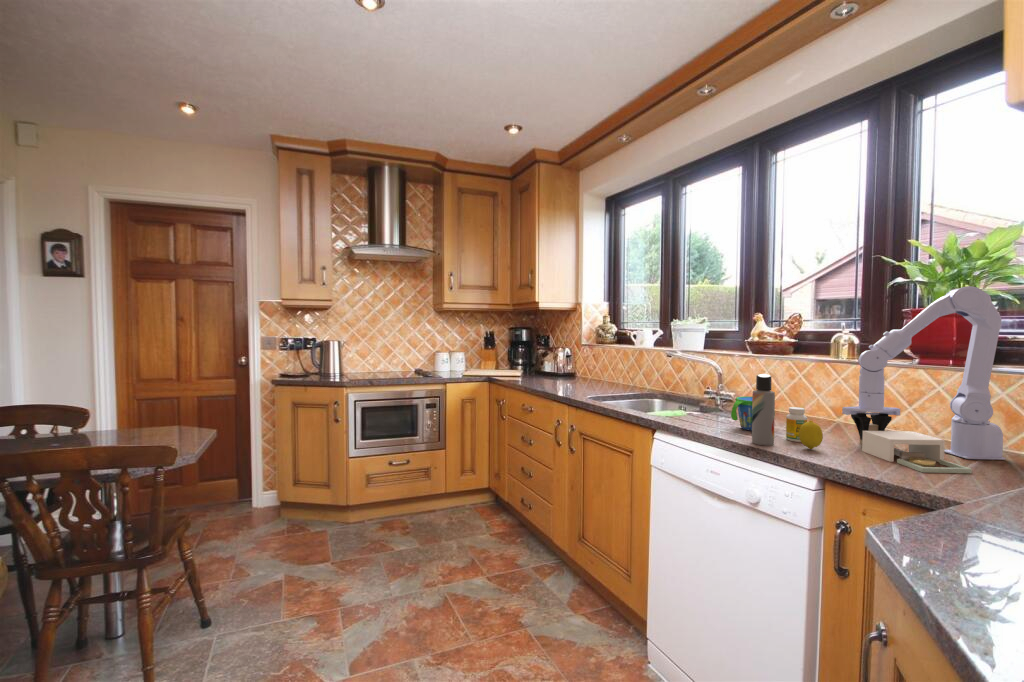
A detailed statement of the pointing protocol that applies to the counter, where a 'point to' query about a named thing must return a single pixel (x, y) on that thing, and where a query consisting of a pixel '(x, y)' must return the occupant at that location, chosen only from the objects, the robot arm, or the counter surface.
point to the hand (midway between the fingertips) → (870, 440)
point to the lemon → (810, 434)
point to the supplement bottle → (794, 423)
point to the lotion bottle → (763, 411)
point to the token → (922, 461)
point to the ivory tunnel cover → (885, 440)
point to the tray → (954, 467)
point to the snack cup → (743, 412)
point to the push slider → (898, 452)
